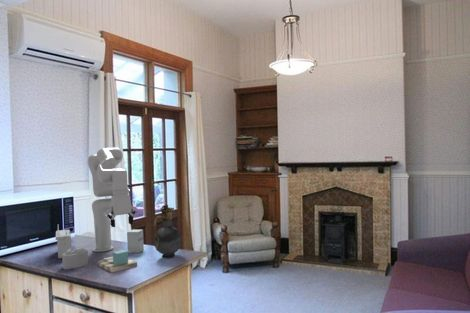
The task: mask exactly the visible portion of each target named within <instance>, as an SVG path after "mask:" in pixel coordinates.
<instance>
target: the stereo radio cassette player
mask: <svg viewBox="0 0 470 313" xmlns="http://www.w3.org/2000/svg"><path fill="white" fill-rule="evenodd" d="M59 228H60V227H59V225H57V230H56V231H55V241H56V242H57V244H56V245H57V258H58V259H59V260H60V259H62V254H63V253H65V252H66V251H67V250H68V249H72V236H71V230H70V229H61V230H60V229H59Z"/></svg>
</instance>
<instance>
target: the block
mask: <svg viewBox="0 0 470 313" xmlns="http://www.w3.org/2000/svg"><path fill="white" fill-rule="evenodd" d="M112 256H113V264H115V265H121V264H125V263H128V258H129V253H128V250H125V249H121V250H116V251H112Z"/></svg>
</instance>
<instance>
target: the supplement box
mask: <svg viewBox="0 0 470 313" xmlns="http://www.w3.org/2000/svg"><path fill="white" fill-rule="evenodd" d="M126 242H127V243H126V244H127V247H126V248H127V251H128V254H129V253H131V254H139V253H140V252H142V251H144V248H145V247H144V244H145V243H144V229H131V230H129V231H127V232H126Z"/></svg>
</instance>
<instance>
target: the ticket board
mask: <svg viewBox="0 0 470 313" xmlns="http://www.w3.org/2000/svg"><path fill="white" fill-rule="evenodd" d="M97 266H99V267H100V268H103V269H105V270H106V271H108V272H110V273H115V272H118V271H123V270H126V269H131V268H134V267H137V266H138V261H135V260H133V259H131V258H129V257H128V263H125V264H121V265H115V264H113V255H112V256H106V257H103V259H101V260H98V261H97Z"/></svg>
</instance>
